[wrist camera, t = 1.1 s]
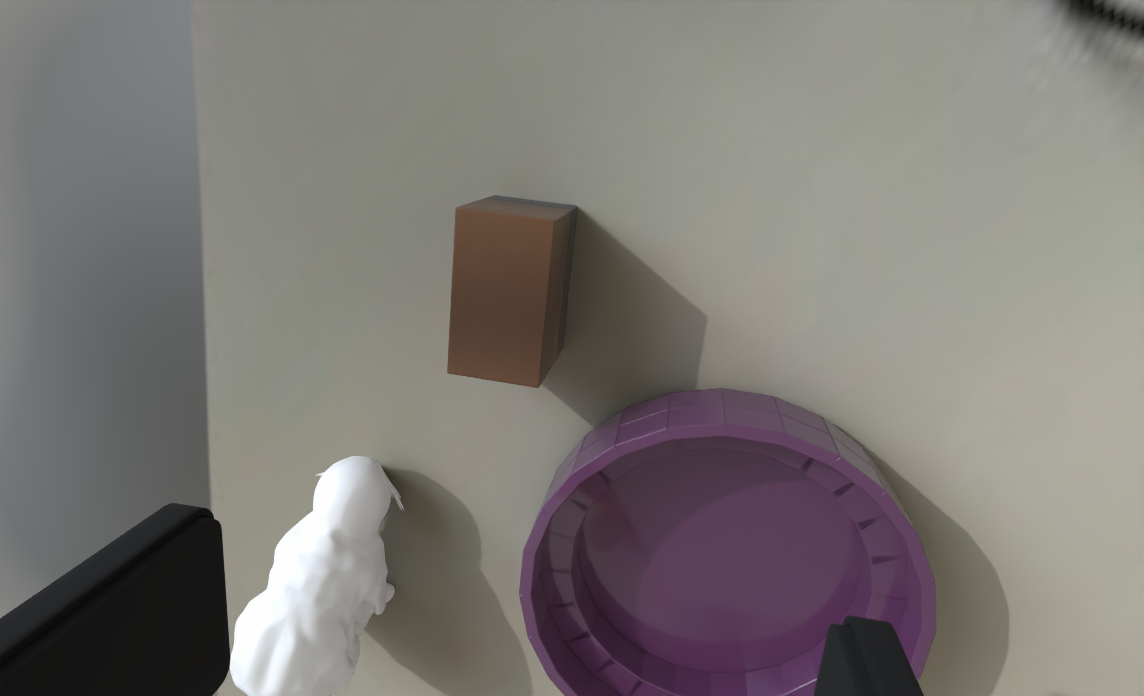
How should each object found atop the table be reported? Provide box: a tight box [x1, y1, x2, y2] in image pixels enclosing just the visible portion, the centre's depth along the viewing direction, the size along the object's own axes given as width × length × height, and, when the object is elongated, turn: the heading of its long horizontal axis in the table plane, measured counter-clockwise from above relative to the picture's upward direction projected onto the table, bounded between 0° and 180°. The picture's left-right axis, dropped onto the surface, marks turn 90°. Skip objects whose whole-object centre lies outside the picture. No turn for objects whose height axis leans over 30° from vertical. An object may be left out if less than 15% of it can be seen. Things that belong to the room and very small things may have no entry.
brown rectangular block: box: [447, 195, 577, 388], centre depth 31 cm, size 7×4×6 cm, turn 173°
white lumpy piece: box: [230, 456, 404, 696], centre depth 36 cm, size 6×8×12 cm
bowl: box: [519, 388, 936, 696], centre depth 34 cm, size 18×18×5 cm
